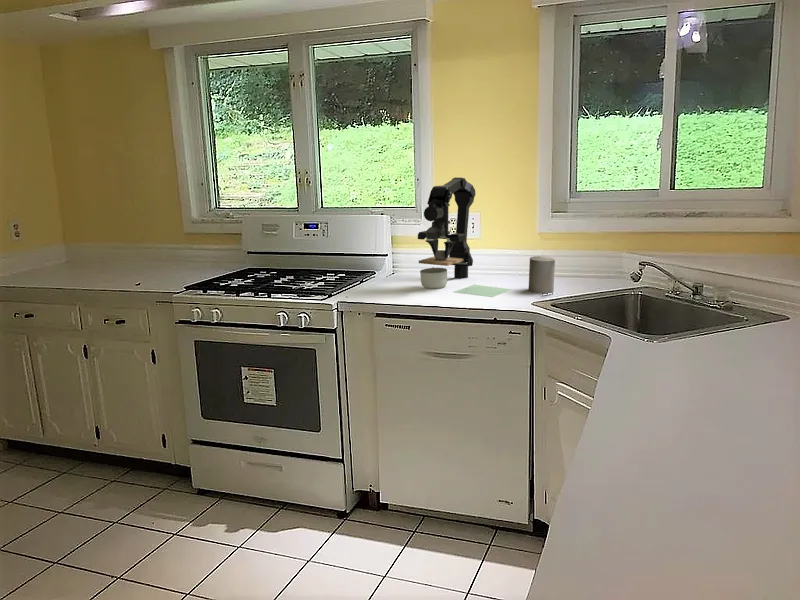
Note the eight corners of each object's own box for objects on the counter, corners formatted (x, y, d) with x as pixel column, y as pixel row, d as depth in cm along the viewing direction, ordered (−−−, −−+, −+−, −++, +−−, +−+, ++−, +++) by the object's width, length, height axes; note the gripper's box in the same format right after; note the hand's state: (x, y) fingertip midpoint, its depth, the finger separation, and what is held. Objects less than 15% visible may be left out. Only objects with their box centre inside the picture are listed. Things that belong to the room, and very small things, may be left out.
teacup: (445, 292, 270) (445, 272, 268) (417, 291, 272) (417, 271, 270) (449, 285, 283) (449, 266, 282) (423, 284, 285) (423, 265, 284)
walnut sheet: (435, 258, 282) (435, 247, 282) (463, 261, 276) (463, 249, 275) (418, 263, 272) (418, 251, 271) (447, 265, 265) (447, 254, 264)
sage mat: (474, 287, 279) (474, 284, 279) (512, 291, 270) (512, 289, 269) (452, 294, 266) (452, 292, 265) (492, 299, 256) (492, 297, 256)
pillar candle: (523, 291, 269) (524, 253, 266) (544, 289, 273) (546, 252, 269) (537, 296, 261) (538, 257, 257) (559, 294, 264) (560, 255, 261)
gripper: (410, 219, 268) (410, 259, 272) (452, 221, 258) (452, 263, 262) (424, 216, 277) (424, 255, 281) (466, 219, 268) (465, 258, 271)
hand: (441, 258), depth 273 cm, fingers closed on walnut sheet, 4 cm apart
